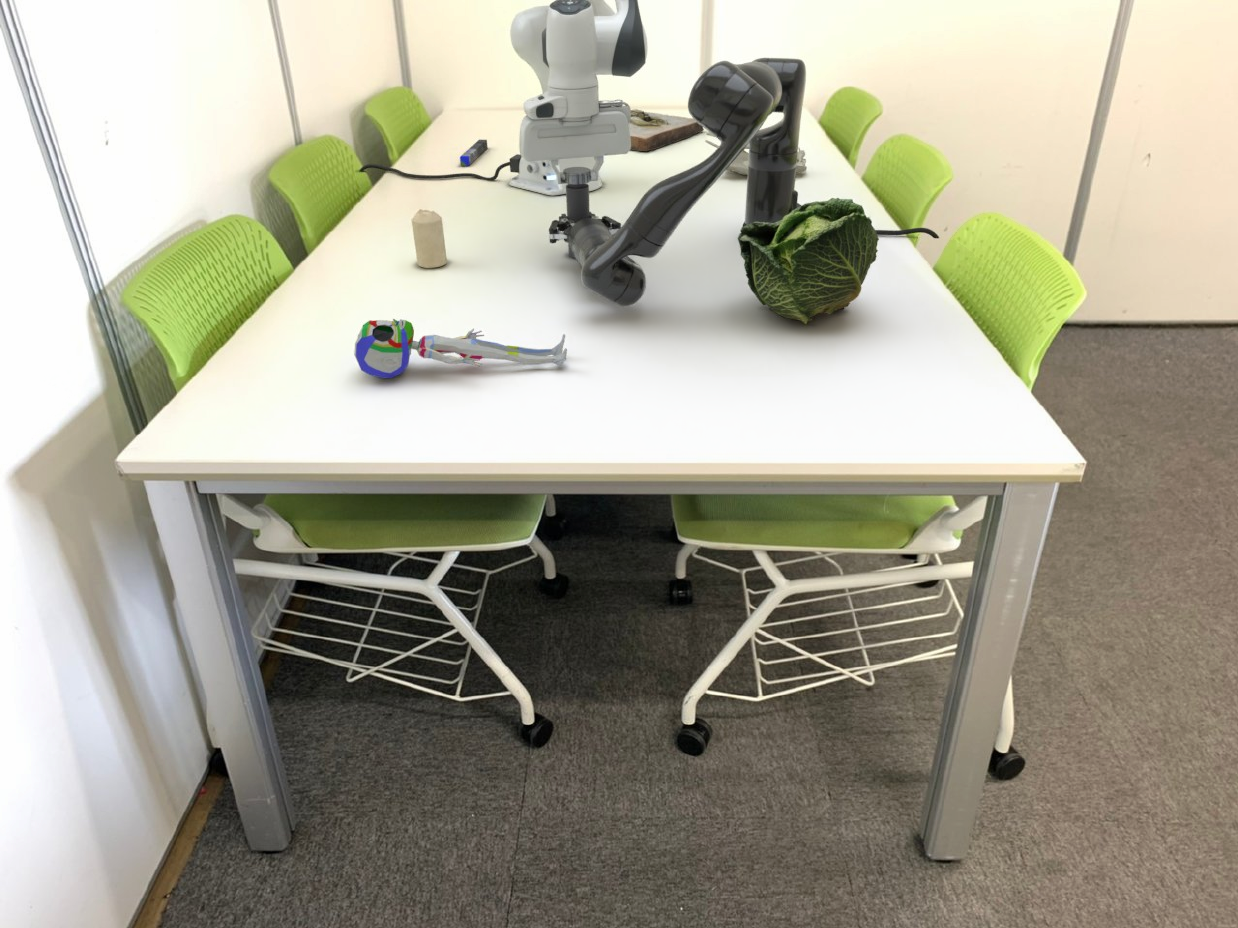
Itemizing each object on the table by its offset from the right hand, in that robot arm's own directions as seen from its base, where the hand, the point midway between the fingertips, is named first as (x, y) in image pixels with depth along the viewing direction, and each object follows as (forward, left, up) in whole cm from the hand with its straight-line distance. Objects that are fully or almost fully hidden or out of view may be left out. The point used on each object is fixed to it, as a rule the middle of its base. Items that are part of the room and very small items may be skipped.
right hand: (575, 217), depth 172 cm
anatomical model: (-53, -45, -7) cm, 70 cm away
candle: (+28, 0, -7) cm, 29 cm away
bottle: (0, +3, -7) cm, 7 cm away
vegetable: (-30, +41, -7) cm, 51 cm away
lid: (0, +3, +9) cm, 10 cm away
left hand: (0, +3, +7) cm, 8 cm away
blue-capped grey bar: (+12, -82, -7) cm, 83 cm away
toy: (+26, +47, -7) cm, 54 cm away
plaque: (-35, -94, -7) cm, 100 cm away
